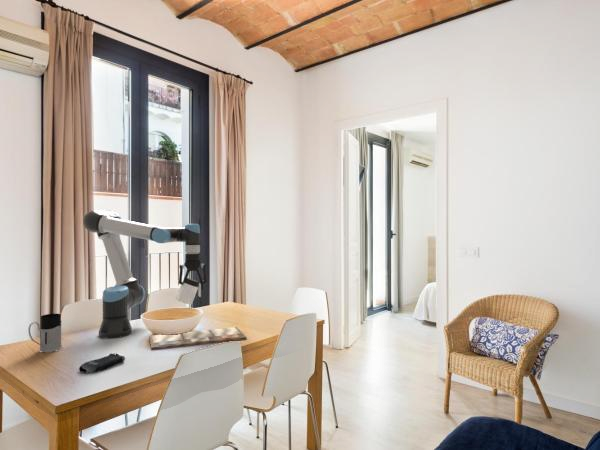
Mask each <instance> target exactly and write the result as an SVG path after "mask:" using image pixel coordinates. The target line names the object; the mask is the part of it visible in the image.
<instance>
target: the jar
mask: <svg viewBox="0 0 600 450" xmlns="http://www.w3.org/2000/svg"><path fill="white" fill-rule="evenodd" d="M199 284H200V281H199V280H198V281H197V280H195V279H193V278H189V277H187V278H185V281H184V283H183V285H182V284H180V286H179V289H178V291H177V294H176V296H175V300H176V301H178V302H181V303H184V304H187V305H193V302H194V299H195V297H196V295H197V292H198V291H199Z"/></svg>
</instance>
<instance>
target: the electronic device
mask: <svg viewBox="0 0 600 450" xmlns="http://www.w3.org/2000/svg"><path fill="white" fill-rule="evenodd" d="M125 361H126V357H125V356H124V355H120V354H118V353H112V352H110V353H109V355H106V356H103V357H101V358H96V359H93V360H89V361H85V362H84V363H82V364H81V365H80V366H79V368H78V370H79V372H78V373H79V374H80V373H81V374H83V371H84V370H86V372H84V374H96V373H100V372H102V371H105V370H107V369H109V368H112V367H114V366H117V365H119V364H124V362H125Z"/></svg>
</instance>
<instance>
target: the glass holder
mask: <svg viewBox="0 0 600 450" xmlns="http://www.w3.org/2000/svg"><path fill="white" fill-rule="evenodd" d="M34 324H36V326H37V330H38V331H40V332H39V334H40V335H39V342H37V341H36V340H35V339H34V338H33V336H32V335H31V328H32V327H31V326H32V325H34ZM28 336H29V337H30V339H31V341H32V342H34V343H35V344H36V345H38V346H39V350H40V351H42V352H50V353H53V352H52V351H55V352H57V351H56V350H59V351H61V350H62V349H63V346H62V314H61V313H47V314H42V315H41V316H40V324H39V323H38V322H37V321H34V322H31V323H30V324H29V326H28ZM61 348H62V349H61ZM60 349H61V350H60Z"/></svg>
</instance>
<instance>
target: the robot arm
mask: <svg viewBox="0 0 600 450" xmlns="http://www.w3.org/2000/svg"><path fill="white" fill-rule="evenodd" d="M82 224H83V227H84V228H85V229H86V230H87V231H89V232H91V233H96V234H97V238H98V239H99V240H101V241H102V242H103V246H104V248H105V252H106V254H107V259H108V261H109V264H110V267H111V270H112V274H113V276H114V279H115V285H114V286H109V287H106V288H105V289H104V290H103V291H102V297H101V298H102V321H101V324H100V327H99V329H98V337H99V338H101V337H102V338H101V339H117V338H123V337H127V336H129V335H131V334H132V333H133V327H132V325H131V321H130V319H129V309H133V308H135V307H137V306H139V305H141V304H142V302H143V301H144V300H145V297H146V291H145V289H144V287H143V286H142V285H141V284H139V282H138V279H136V278H135V277H134V276H133V273H132V270H131V266H130V264H129V260H128V257H127V255H126V251H125V249H124V248H125V247H124V245H123V242H122V240H121V237H120V236H121V235H122V236H125V237H126V236H127V237H130V238H131V237H132V238H135V239H142V240H147V241H153V242H155V243H158V244H166V243H174V242H175V243H181V242H182V243H185V245H184V246H185V247H184V248H185V249H184V253H185V254H184V258H185V259H184V263H183V264H179V265H178V268H179V275H178V276H179V277H178V284H179V285H181V284H182V285H183V283H184V281H185V278H189V275H190V272H193V271H194V272H195V273H196V276H197V278H198V282H199V286H198V297H200V298H202V291H203V290H204V284H206V283H207V274H206V266H207V265H206V264H205V263H202V262H201V229H200V224H198V223H186V224H185V226H184V227H171V226H170V227H163V226H158V225H157V226H156V225H152V224H146V223H142V222H136V221H131V220H125V219H122V217H121V215H119V213H117V212H115V211H112V210H99V209H98V210H97V209H94V210H90V211H88V212H87V213H86V214H85V215H84V216H83V219H82ZM200 267H201V269H202V275H201V273H200V270H199V268H200ZM184 268H186V271H185V274H184V277H183V272H184ZM201 276H202V277H201Z"/></svg>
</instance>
